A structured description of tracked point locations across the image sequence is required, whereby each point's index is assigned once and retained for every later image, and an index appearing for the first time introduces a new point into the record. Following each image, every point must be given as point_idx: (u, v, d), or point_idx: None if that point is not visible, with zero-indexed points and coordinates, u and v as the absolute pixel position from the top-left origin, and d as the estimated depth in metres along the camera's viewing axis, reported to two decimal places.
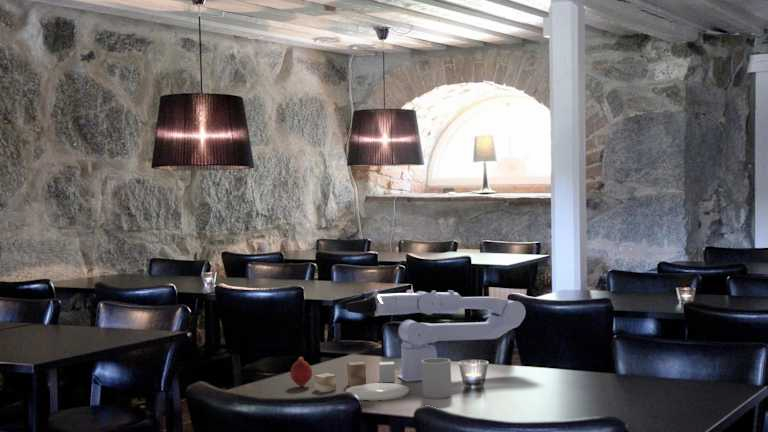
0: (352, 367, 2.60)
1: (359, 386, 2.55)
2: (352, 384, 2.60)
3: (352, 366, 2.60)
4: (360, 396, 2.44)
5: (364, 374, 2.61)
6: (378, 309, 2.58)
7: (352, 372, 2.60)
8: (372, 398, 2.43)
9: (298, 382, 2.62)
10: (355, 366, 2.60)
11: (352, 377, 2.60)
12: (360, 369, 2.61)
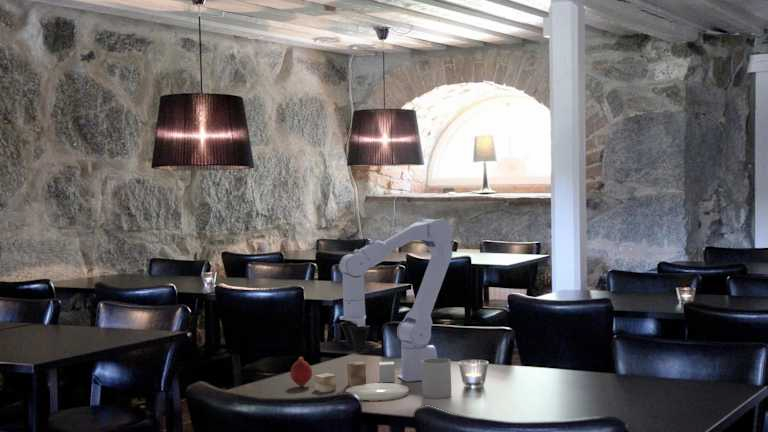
0: (352, 367, 2.60)
1: (359, 386, 2.55)
2: (352, 384, 2.60)
3: (352, 366, 2.60)
4: (360, 396, 2.44)
5: (364, 374, 2.61)
6: (363, 325, 2.55)
7: (352, 372, 2.60)
8: (372, 398, 2.43)
9: (298, 382, 2.62)
10: (355, 366, 2.60)
11: (352, 377, 2.60)
12: (360, 369, 2.61)
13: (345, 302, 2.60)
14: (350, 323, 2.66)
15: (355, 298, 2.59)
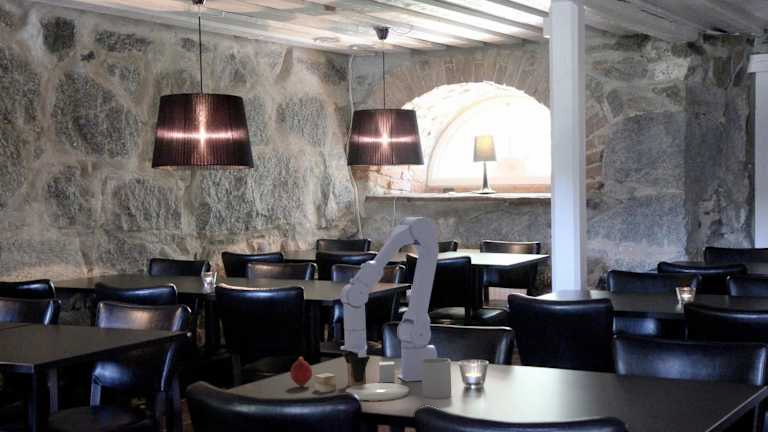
0: None
1: (359, 386, 2.55)
2: (352, 384, 2.60)
3: None
4: (360, 396, 2.44)
5: (364, 374, 2.61)
6: (364, 356, 2.56)
7: (352, 372, 2.60)
8: (372, 398, 2.43)
9: (298, 382, 2.62)
10: None
11: (352, 377, 2.60)
12: None
13: (346, 332, 2.60)
14: (352, 353, 2.64)
15: (356, 328, 2.59)
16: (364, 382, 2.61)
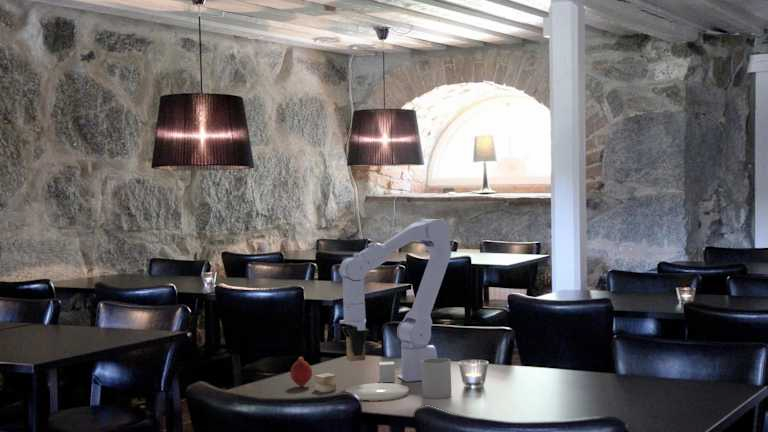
0: None
1: (359, 386, 2.55)
2: (351, 358, 2.60)
3: None
4: (360, 396, 2.44)
5: (363, 348, 2.61)
6: (363, 329, 2.55)
7: (351, 346, 2.60)
8: (372, 398, 2.43)
9: (298, 382, 2.62)
10: None
11: (351, 351, 2.60)
12: None
13: (345, 306, 2.60)
14: (352, 327, 2.64)
15: (355, 302, 2.59)
16: (363, 356, 2.61)
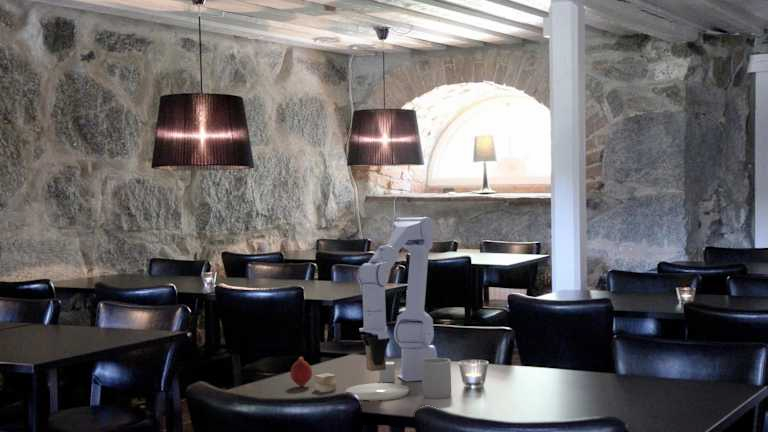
0: None
1: (359, 386, 2.55)
2: (371, 367, 2.48)
3: None
4: (360, 396, 2.44)
5: (384, 357, 2.49)
6: (384, 337, 2.43)
7: (371, 355, 2.48)
8: (372, 398, 2.43)
9: (298, 382, 2.62)
10: None
11: (371, 360, 2.48)
12: None
13: (365, 313, 2.48)
14: (371, 336, 2.52)
15: (382, 308, 2.48)
16: (384, 366, 2.49)
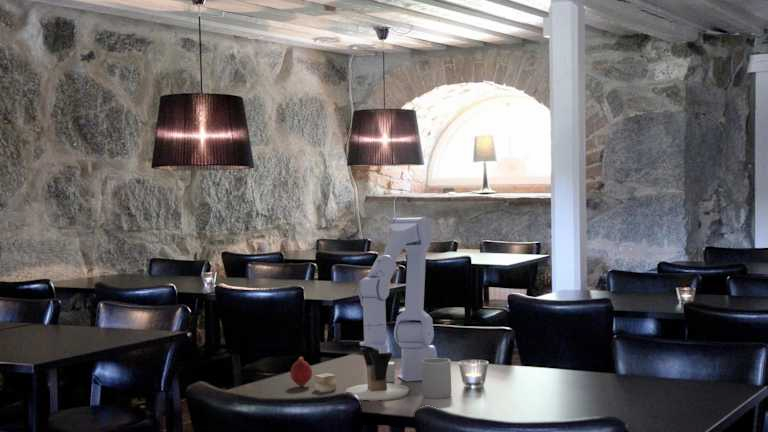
0: (372, 370, 2.48)
1: (359, 386, 2.55)
2: (372, 388, 2.48)
3: (372, 369, 2.48)
4: (360, 396, 2.44)
5: None
6: (385, 352, 2.43)
7: (372, 375, 2.48)
8: (372, 398, 2.43)
9: (298, 382, 2.62)
10: None
11: (372, 380, 2.48)
12: None
13: (366, 327, 2.48)
14: (371, 349, 2.54)
15: (383, 322, 2.48)
16: (385, 386, 2.49)
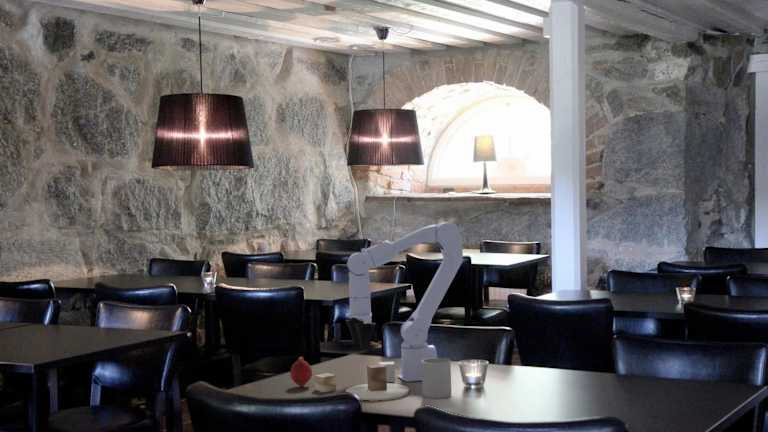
0: (372, 370, 2.48)
1: (359, 386, 2.55)
2: (372, 388, 2.48)
3: (372, 369, 2.48)
4: (360, 396, 2.44)
5: (385, 377, 2.49)
6: (369, 322, 2.60)
7: (372, 375, 2.48)
8: (372, 398, 2.43)
9: (298, 382, 2.62)
10: (375, 369, 2.48)
11: (372, 380, 2.48)
12: (381, 372, 2.49)
13: (351, 300, 2.65)
14: (356, 320, 2.71)
15: (358, 296, 2.64)
16: (385, 386, 2.49)
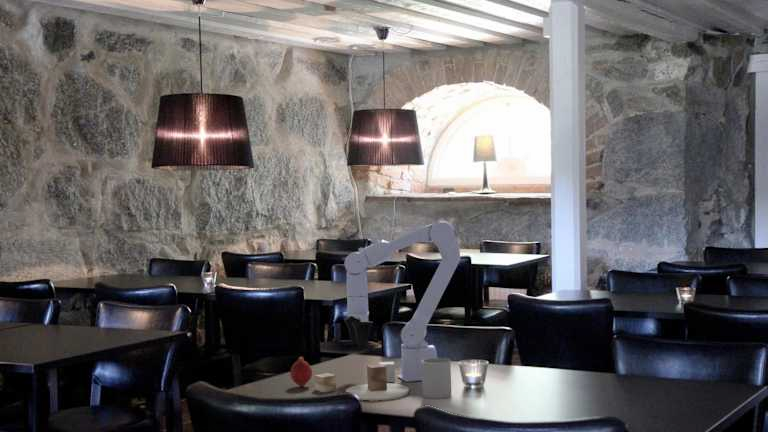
0: (372, 370, 2.48)
1: (359, 386, 2.55)
2: (372, 388, 2.48)
3: (372, 369, 2.48)
4: (360, 396, 2.44)
5: (385, 377, 2.49)
6: (366, 320, 2.64)
7: (372, 375, 2.48)
8: (372, 398, 2.43)
9: (298, 382, 2.62)
10: (375, 369, 2.48)
11: (372, 380, 2.48)
12: (381, 372, 2.49)
13: (349, 298, 2.69)
14: (354, 319, 2.74)
15: (353, 295, 2.68)
16: (385, 386, 2.49)
